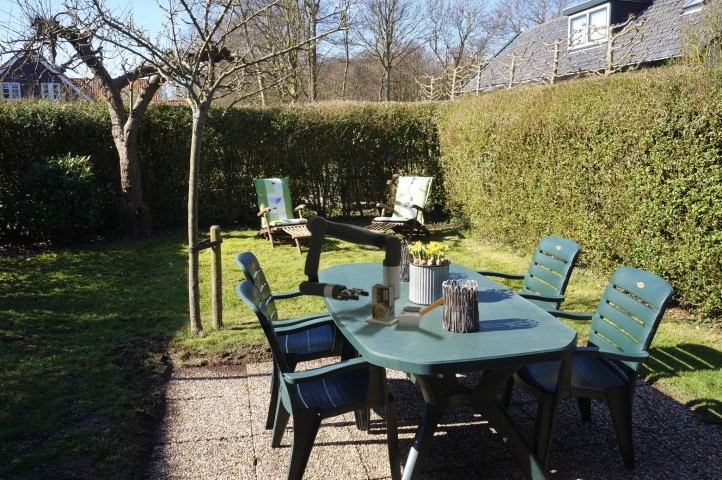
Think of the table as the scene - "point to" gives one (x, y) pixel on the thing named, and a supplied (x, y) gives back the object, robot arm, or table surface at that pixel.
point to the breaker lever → (432, 306)
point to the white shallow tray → (383, 321)
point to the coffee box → (383, 302)
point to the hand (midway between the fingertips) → (363, 296)
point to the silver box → (410, 316)
